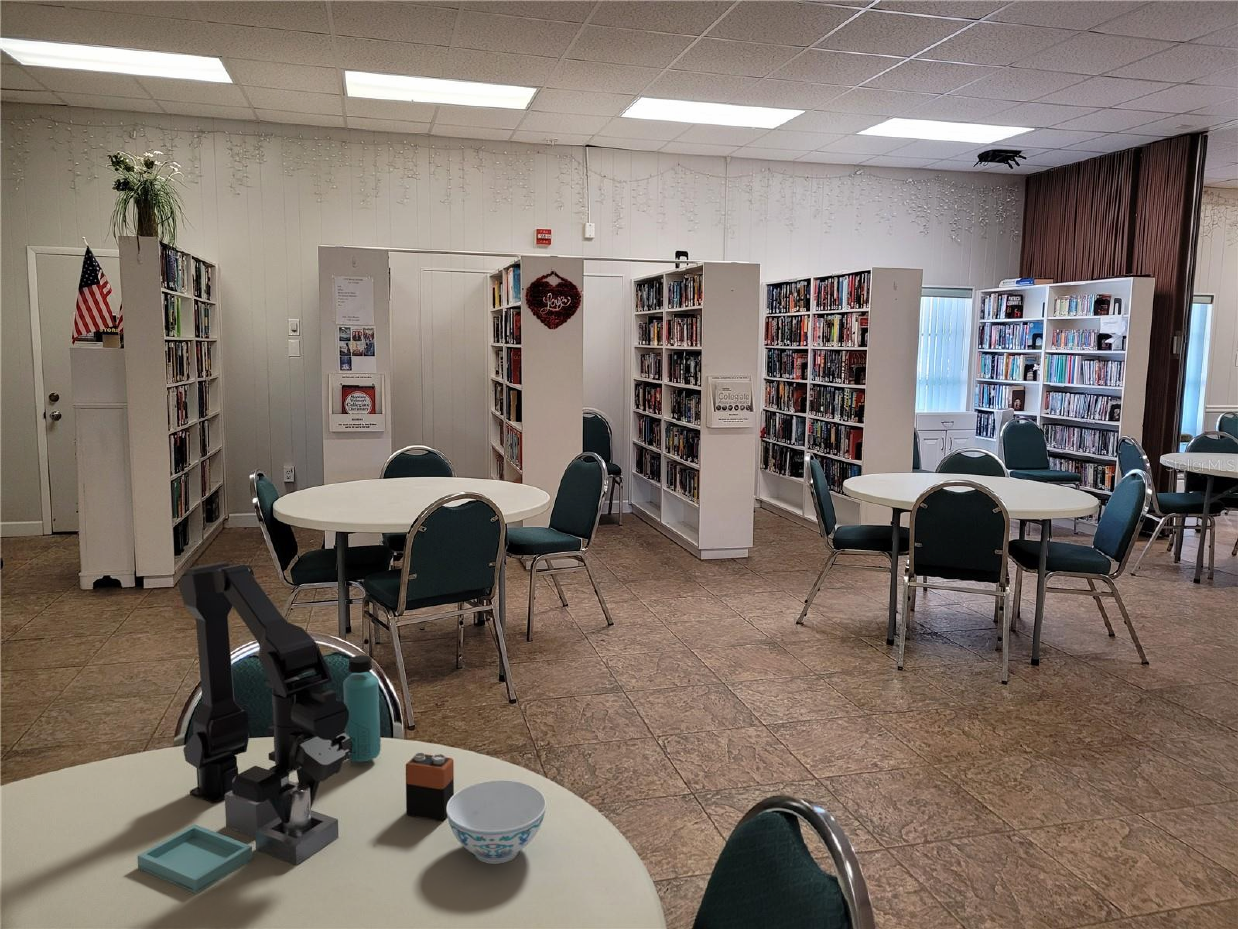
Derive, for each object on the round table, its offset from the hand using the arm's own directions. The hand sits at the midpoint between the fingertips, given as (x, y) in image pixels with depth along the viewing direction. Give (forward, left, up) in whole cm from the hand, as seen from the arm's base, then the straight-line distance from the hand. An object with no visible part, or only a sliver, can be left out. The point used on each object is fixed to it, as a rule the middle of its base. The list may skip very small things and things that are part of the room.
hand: (296, 816), depth 137 cm
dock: (-10, +2, -4) cm, 11 cm away
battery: (+12, +17, -5) cm, 21 cm away
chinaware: (+28, +13, -5) cm, 31 cm away
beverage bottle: (-10, +25, -5) cm, 27 cm away
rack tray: (-9, -11, -4) cm, 15 cm away
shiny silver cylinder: (0, 0, -4) cm, 4 cm away
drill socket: (0, 0, -4) cm, 4 cm away
